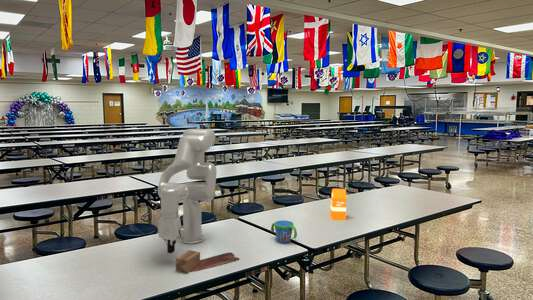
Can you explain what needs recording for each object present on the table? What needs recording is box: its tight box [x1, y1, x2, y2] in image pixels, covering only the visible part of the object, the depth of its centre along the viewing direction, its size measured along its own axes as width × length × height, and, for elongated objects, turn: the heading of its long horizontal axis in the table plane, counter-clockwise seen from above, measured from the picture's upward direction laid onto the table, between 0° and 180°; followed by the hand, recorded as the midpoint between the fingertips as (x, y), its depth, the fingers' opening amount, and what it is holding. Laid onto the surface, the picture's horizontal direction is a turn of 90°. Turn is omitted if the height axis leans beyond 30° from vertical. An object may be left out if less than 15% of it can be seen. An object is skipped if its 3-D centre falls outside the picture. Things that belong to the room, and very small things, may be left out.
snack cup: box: [270, 219, 298, 244], centre depth 194 cm, size 16×10×10 cm
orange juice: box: [329, 188, 347, 221], centre depth 236 cm, size 8×9×20 cm
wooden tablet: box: [189, 252, 240, 273], centre depth 167 cm, size 26×2×10 cm
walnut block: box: [175, 249, 201, 274], centre depth 161 cm, size 6×10×6 cm, turn 157°
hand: (171, 252), depth 167 cm, fingers closed
